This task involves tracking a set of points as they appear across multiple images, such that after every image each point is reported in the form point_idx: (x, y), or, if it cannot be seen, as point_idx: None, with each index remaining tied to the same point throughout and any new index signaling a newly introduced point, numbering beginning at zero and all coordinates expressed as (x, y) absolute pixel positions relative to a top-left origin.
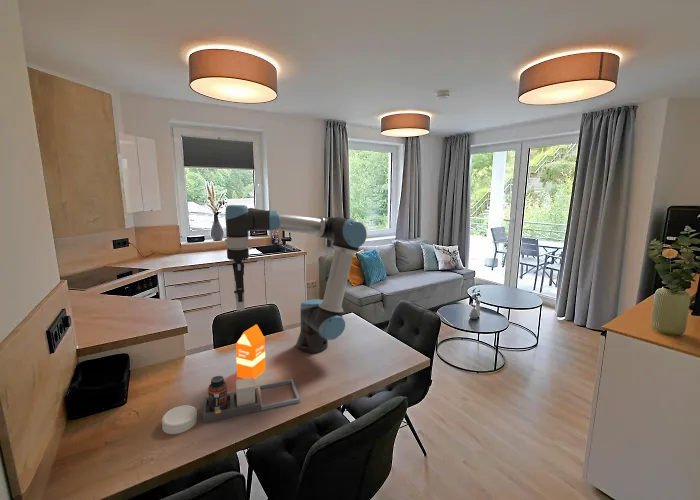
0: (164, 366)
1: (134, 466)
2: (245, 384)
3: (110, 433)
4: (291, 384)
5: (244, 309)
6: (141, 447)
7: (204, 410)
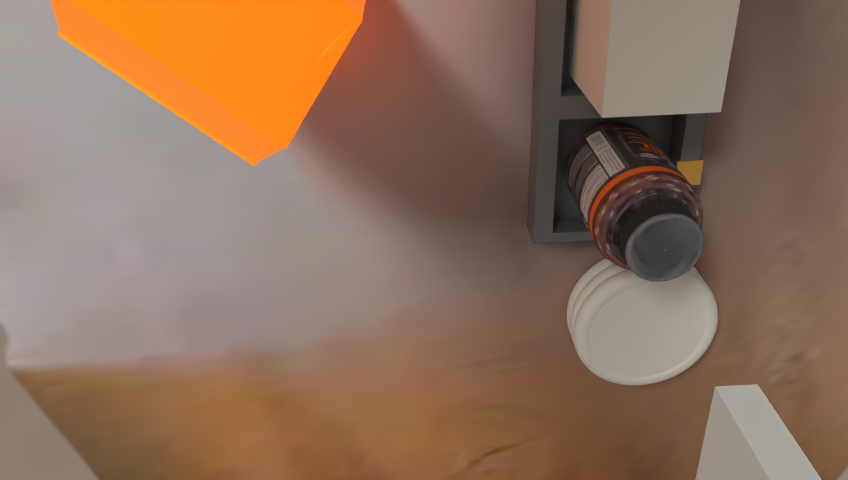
0: (116, 439)
1: (800, 396)
2: (689, 53)
3: None
4: None
5: (759, 389)
6: None
7: None
